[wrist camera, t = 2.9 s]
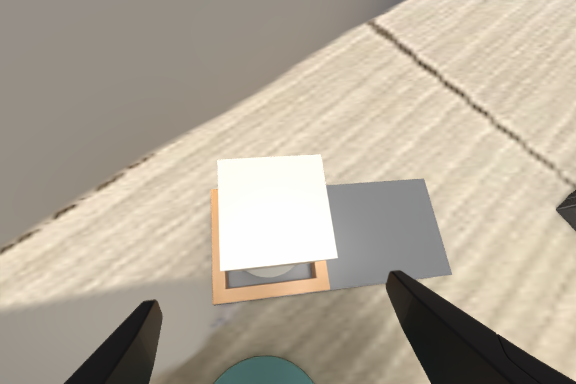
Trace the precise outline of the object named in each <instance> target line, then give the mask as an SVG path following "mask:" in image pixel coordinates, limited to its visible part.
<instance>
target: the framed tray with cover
mask: <svg viewBox="0 0 576 384" xmlns="http://www.w3.org/2000/svg"><path fill="white" fill-rule="evenodd" d="M326 189H327V195H328V201H329V207H330V213H331V219H332V225H333V232H334V238H335V244H336V250H337V256H338V258H335V259H330V260H324V261H318V262H312V263H306V264H300V265H295V266H294V267H293V268H292V269H291V270H289V271H288V272H286V273H284V274H282V275H279V276H276V277H267V278H266V277H259V276H255V275H253V274H251V273H249V272H247V271H220V248H219V207H218V189H212V190H211V220H212V285H213V305H221V304H229V303H236V302H244V301H252V300H259V299H267V298H275V297H283V296H290V295H298V294H306V293H314V292H321V291H329V290H337V289H345V288H352V287H360V286H368V285H375V284H383V283H386V282H387V278H388V274H389V272H390V271H393V270H401V271H403V272H404V273H406V274H407V275H409V276H410V277H412V278H413V279H422V278H430V277H437V276H445V275H452V273H451V269H450V266H449V262H448V259H447V256H446V252H445V249H444V245H443V242H442V239H441V235H440V232H439V228H438V225H437V222H436V218H435V215H434V211H433V208H432V205H431V201H430V198H429V194H428V191H427V187H426V184H425V181H424V179H412V180H398V181H383V182H369V183H355V184H340V185H326Z"/></svg>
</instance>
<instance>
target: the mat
mask: <svg viewBox="0 0 576 384" xmlns="http://www.w3.org/2000/svg"><path fill="white" fill-rule="evenodd" d="M214 384H314V383H313V382H312V380H311V379H310V378H309V377H308V375H307V374H306V373H305V372H304V371H303V370H302V369H301V368H299V367H298V366H296V365H295V364H294V363H292V362H290V361H288V360H285V359H282V358H279V357H274V356H257V357H252V358H249V359H245V360H243V361H241V362H239V363H237V364H235V365H234V366H232V367H230V368H229V369H228V370H227V371H225V372H224V373H223V374H222V375H221V376H220V377H219V378H218V379H217V380H216V381H215V383H214Z"/></svg>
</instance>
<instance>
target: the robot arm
mask: <svg viewBox="0 0 576 384" xmlns="http://www.w3.org/2000/svg"><path fill="white" fill-rule="evenodd" d="M386 290H387V293H388V295H389V298H390V300H391V303H392V305H393V308H394V310H395V312H396V315H397V317H398V320H399V322H400V324H401V327H402V329H403V331H404V333H405V335H406V337H407V339H408V341H409V342H410V344H411V346H412V348H413V350H414V352H415V354H416V356H417V358H418V360H419V361H420V363H421V365H422V367H423V369H424V371H425V373H426V375H427V377H428V379H429V380H430V382H431V384H576V382H575V381H574V380H572V379H570V378H569V377H567V376H565V375H563V374H562V373H560V372H558V371H557V370H555V369H553V368H551V367H550V366H548V365H546V364H545V363H543V362H541V361H540V360H538V359H536V358H535V357H533V356H531V355H530V354H528V353H527V352H525V351H524V350H522V349H520V348H519V347H517V346H516V345H514V344H513V343H511V342H509V341H508V340H506V339H505V338H503V337H502V336H500V335H499V334H496V332H494V331H493V330H491V329H490V328H488V327H486V326H485V325H483V324H482V323H480V322H479V321H477V320H476V319H474V318H473V317H471V316H470V315H468V314H467V313H465V312H464V311H462V310H461V309H459V308H458V307H456V306H454V305H453V304H451V303H450V302H448V301H447V300H445V299H444V298H442V297H441V296H439V295H438V294H436V293H435V292H433V291H432V290H430V289H429V288H427V287H426V286H424V285H423V284H421V283H419V282H418V281H416V280H415V279H413V278H412V277H410V276H409V275H407V274H406V273H404V272H403V271H401V270H393V271H390V272H389V274H388V278H387V282H386ZM161 324H162V312H161V310H160V307H159V304H158V302H157V301H156V300H155V299H153V300H146V301H143V302H142V303H141V304H140V305H139V306H138V307H137V308H136V309H135V310H134V311H133V312H132V313H131V314H130V315H129V316H128V317H127V318H126V320H125V321H124V322H123V323H122V324H121V325H120V326H119V327H118V328H117V329H116V330H115V331H114V332H113V333H112V334H111V335H110V336H109V337H108V338H107V339H106V340H105V341H104V342H103V344H102V345H100V347H99V348H98V349H97V350H96V351H95V352H94V353H93V354H92V355H91V356H90V357H89V358H88V359H87V360H86V361H85V362H84V363H83V364H82V365H81V366H80V367H79V368H78V369H77V370H76V371H75V373H73V375H72V376H71V377H70V378H69V379H68V380H67V381H66V382H65V383H64V384H149V381H150V377H151V374H152V370H153V366H154V361H155V356H156V351H157V345H158V340H159V335H160V330H161Z"/></svg>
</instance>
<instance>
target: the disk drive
mask: <svg viewBox="0 0 576 384" xmlns="http://www.w3.org/2000/svg"><path fill="white" fill-rule="evenodd" d="M556 210H557V212H558V213H559V214H560V215H561V216H562V217H563V218H564V219H565V220H566V221H567V222H568V223H569V224H570V225H571V226H572V228H573V229H574V230H575V231H576V190H575V191H574V192H573V193H571V194H570V195H569V196H568V197H567V198H566V200H565V201H564V202H563V203H562V204H561V205H559V207H558V208H557V209H556Z"/></svg>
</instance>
